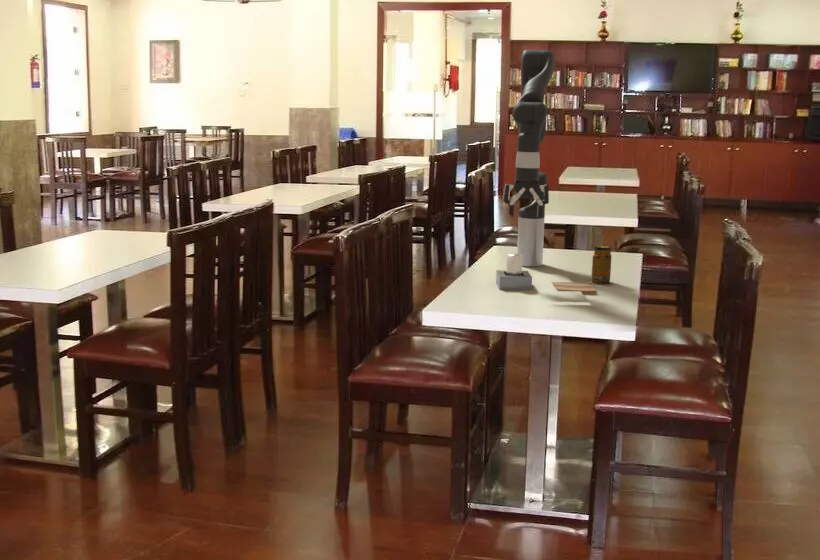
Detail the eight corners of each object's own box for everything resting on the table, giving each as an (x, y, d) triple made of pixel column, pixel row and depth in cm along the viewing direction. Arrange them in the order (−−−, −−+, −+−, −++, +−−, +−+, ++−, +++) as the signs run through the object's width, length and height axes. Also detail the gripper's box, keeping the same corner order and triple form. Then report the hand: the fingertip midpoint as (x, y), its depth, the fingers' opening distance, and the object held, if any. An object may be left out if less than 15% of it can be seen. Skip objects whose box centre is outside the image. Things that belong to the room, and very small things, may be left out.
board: (551, 285, 297) (551, 282, 297) (588, 286, 297) (588, 282, 297) (557, 293, 285) (557, 290, 285) (596, 294, 285) (596, 290, 285)
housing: (495, 285, 296) (496, 270, 295) (527, 286, 296) (527, 270, 295) (499, 292, 286) (499, 276, 285) (531, 292, 286) (532, 277, 285)
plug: (505, 284, 293) (506, 253, 291) (520, 284, 293) (521, 253, 291) (506, 287, 288) (508, 256, 286) (522, 287, 288) (523, 256, 286)
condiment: (595, 279, 308) (597, 244, 306) (619, 282, 304) (621, 246, 301) (586, 283, 303) (588, 246, 300) (610, 286, 298) (612, 249, 295)
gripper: (547, 165, 296) (545, 215, 299) (503, 164, 296) (501, 215, 299) (551, 167, 289) (549, 218, 292) (506, 166, 288) (504, 218, 292)
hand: (525, 216), depth 296 cm, fingers open, 8 cm apart
